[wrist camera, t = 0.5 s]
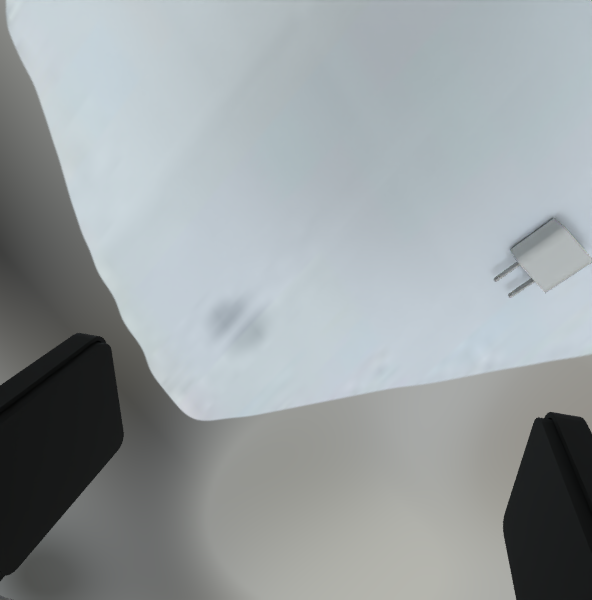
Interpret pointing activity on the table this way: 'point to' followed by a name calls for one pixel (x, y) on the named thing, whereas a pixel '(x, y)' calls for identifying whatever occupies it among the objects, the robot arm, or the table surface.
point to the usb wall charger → (548, 257)
